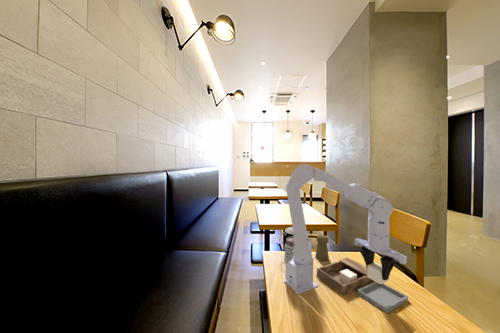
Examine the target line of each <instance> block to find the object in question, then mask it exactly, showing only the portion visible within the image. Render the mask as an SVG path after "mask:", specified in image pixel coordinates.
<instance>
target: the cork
mask: <svg viewBox="0 0 500 333" xmlns="http://www.w3.org/2000/svg"><path fill="white" fill-rule="evenodd" d="M315 240H316V241H317V244H316V250H315V255H314V256H315V259H316V260H317V261H319V262H325V263H326V262H328V261H329V260H330V258H329V249H328V243H329V237H328V236H327V235H324V234H317V236H316V239H315Z"/></svg>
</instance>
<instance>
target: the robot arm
mask: <svg viewBox="0 0 500 333" xmlns="http://www.w3.org/2000/svg"><path fill="white" fill-rule="evenodd" d="M311 180H313V181H314V182H323V183H326V184H328V185H330V186H331V187H334V188H335V189H338V190H340V191H341V192H343V193H344V196H345V198H346V199H348V200H350V201H351V202H354V203H355V204H357V205H359V206H361V207H363V208H365V209H366V208H367V210H368V216H367V240H365V239H362V238H355V239H354V245H356V246H359V247H361V248H360V249H359V253H360V254H361V256H362V258H363V260H364V264H365V267H367V269H368V265H369V264H372V263H375V262H374V261H375V255H376V253H377V254H379V255H382V256H383V257H380V258H379V261H380V265H382V279H383V280H388V281H389V278H390V276H391V275H390V274H391V272H392V269H393V268H394V266H396V264H397V262H399V264H400V265H406V264H408V260H407V259H408V256H407V255H404V254H402V253H400V252H398V251H396V250H394V249H392V248H390V230H391V229H390V226H391V225H390V216H391V215H392V213H394V210H395V208H394V207H393V205H392V203H391V202H390V200H389V199H387V198H384V197H383V196H381V195H380V194H379V193H378V192H376V191H371V190H369V189H367V188H365V187H364V185H363V184H361V183H360V182H359V183H355V182H354V183H347V182H345V181H343V180H341V179H339V177H336V176H334V175H333V174H330V173H329V172H328V171H325V170H323V169H322V168H321V169H320V168H317V167H316V166H315V167H314V166H313V167H312V166H311V165H310V164H306V163H302V164H299V165H298V166H297V167H296V168H295V169H293V171H292V172H291V175H290V178H289V179H288V181H287V184H286V186H285V190H286V195H287V202H288V208H289V214H290V219H291V225H292V226H291V227H293V232H294V235H293V237H294V245H293V246H294V251H293V250H292V251H293V259H292V260H291V261H290V262H288V263H286V264H285V279H284V283H285V284H287V285H288V286H289V287H290V288H291V289H292V290H293V291H294V292H295V293H296V294H298V295H300V294H303V293H306V292H307V291H310V290H314V289H316V288H318V287H319V285H318V284H317V283H316V282H314V258H313V255H312V253H313V252H312V251H313V243H312V241H311V240H310V238H309V235H308V232H307V226H306V225H307V224H306V221H305V215H304V209H303V208H304V207H303V203H302V198H301V191H300V190H301V189H302V188H303V187H304V185H306V184H307V183H308V182H310V181H311Z"/></svg>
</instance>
